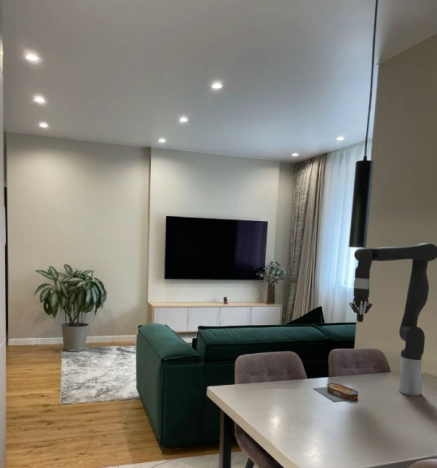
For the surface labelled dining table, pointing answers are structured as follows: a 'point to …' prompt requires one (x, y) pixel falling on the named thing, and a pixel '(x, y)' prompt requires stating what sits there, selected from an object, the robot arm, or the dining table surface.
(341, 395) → the tin
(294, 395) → the dining table surface
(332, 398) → the mat
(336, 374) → the dining table surface
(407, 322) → the robot arm
